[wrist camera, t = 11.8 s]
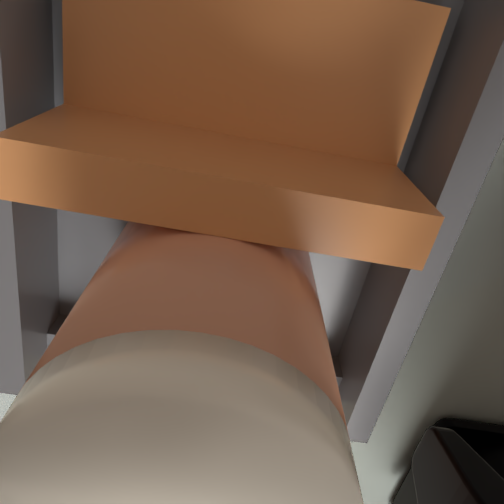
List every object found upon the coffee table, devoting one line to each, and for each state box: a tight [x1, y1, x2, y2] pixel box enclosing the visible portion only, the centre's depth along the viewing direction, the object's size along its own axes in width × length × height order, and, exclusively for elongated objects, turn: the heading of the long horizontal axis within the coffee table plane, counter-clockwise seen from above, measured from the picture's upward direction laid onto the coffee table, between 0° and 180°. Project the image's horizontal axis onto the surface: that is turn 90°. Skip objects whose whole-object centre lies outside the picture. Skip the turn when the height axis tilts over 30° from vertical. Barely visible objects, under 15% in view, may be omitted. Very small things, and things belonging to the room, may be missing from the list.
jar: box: [0, 221, 363, 504], centre depth 10 cm, size 6×6×8 cm
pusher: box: [0, 0, 451, 271], centre depth 9 cm, size 8×5×4 cm, turn 80°
